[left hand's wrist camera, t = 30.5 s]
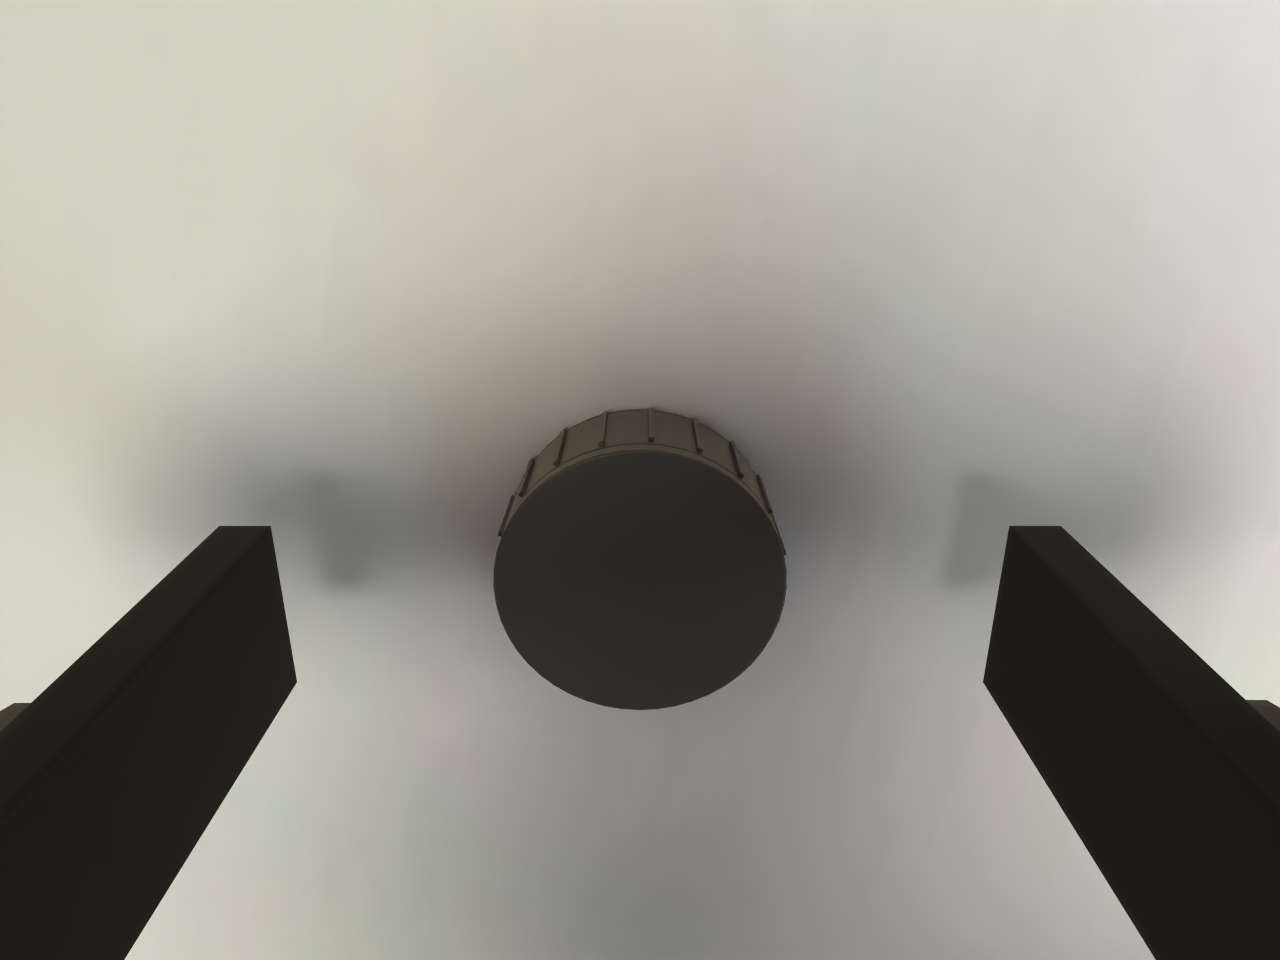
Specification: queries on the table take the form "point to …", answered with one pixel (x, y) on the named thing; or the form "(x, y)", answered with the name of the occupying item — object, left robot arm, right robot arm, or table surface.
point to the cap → (640, 562)
